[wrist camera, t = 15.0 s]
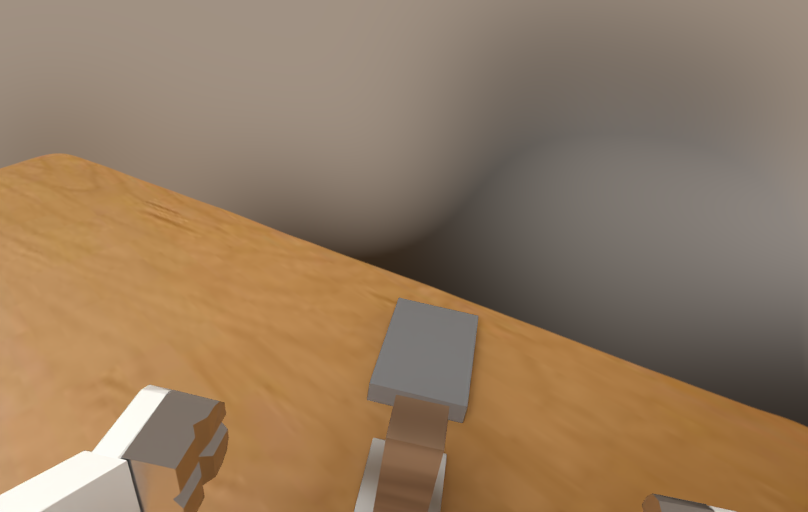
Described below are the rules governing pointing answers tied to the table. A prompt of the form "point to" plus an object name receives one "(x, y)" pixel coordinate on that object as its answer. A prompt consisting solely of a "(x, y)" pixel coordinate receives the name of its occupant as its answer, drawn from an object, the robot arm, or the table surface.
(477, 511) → the table surface
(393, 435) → the brown and white bookend
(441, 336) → the tile
